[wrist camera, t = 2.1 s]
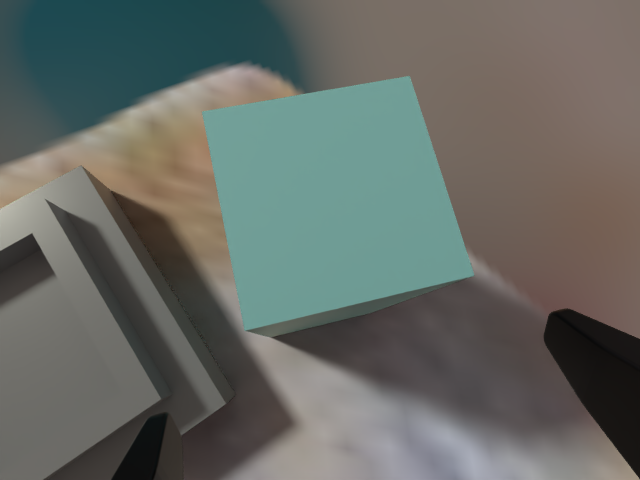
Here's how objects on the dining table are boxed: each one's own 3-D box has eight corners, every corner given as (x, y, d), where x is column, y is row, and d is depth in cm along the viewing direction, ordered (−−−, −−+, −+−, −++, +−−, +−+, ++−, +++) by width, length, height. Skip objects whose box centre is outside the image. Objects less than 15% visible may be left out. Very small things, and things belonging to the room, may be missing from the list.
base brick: (235, 394, 19) (219, 409, 15) (-18, 573, 17) (-125, 654, 13) (109, 189, 21) (62, 150, 17) (-134, 325, 19) (-262, 320, 14)
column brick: (370, 313, 21) (474, 275, 9) (270, 337, 20) (244, 330, 8) (345, 218, 22) (409, 76, 10) (250, 238, 21) (202, 111, 9)
